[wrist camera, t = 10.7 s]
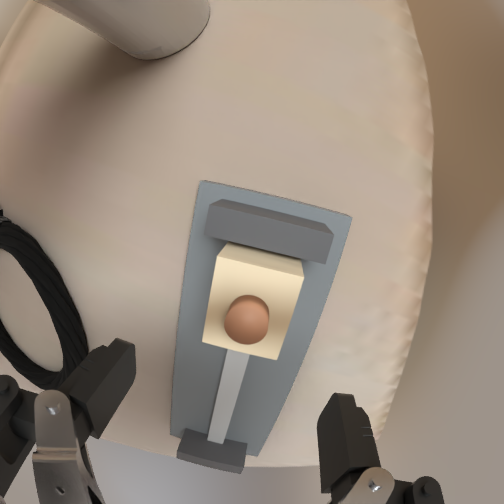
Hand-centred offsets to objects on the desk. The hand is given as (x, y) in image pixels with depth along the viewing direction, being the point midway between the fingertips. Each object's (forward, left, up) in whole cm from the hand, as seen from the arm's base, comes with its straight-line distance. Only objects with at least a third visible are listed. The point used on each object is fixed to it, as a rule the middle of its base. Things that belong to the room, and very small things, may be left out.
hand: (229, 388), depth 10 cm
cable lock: (+15, -32, -15) cm, 38 cm away
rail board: (+10, 0, -15) cm, 18 cm away
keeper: (0, 0, -12) cm, 12 cm away
